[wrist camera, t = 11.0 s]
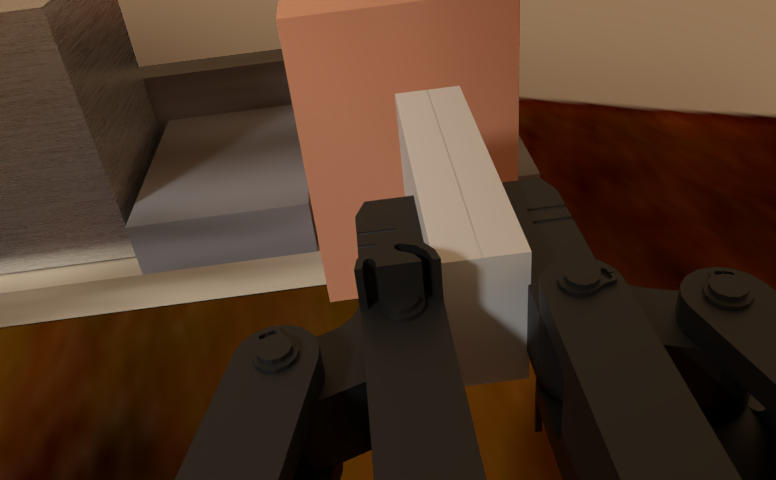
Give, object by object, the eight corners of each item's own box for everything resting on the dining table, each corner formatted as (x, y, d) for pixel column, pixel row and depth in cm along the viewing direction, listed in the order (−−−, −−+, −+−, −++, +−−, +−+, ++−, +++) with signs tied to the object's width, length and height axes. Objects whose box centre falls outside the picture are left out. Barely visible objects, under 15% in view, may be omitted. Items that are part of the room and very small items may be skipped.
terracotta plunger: (517, 277, 22) (519, -12, 17) (329, 302, 22) (276, 19, 17) (475, 170, 28) (468, -69, 23) (326, 190, 28) (285, -46, 23)
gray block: (137, 256, 25) (41, 6, 20) (-29, 277, 25) (-166, 33, 20) (169, 164, 31) (102, -48, 26) (35, 182, 31) (-59, -28, 26)
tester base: (537, 256, 26) (542, 119, 22) (-62, 335, 25) (-143, 208, 22) (483, 136, 34) (480, 23, 31) (30, 194, 33) (-19, 87, 30)
